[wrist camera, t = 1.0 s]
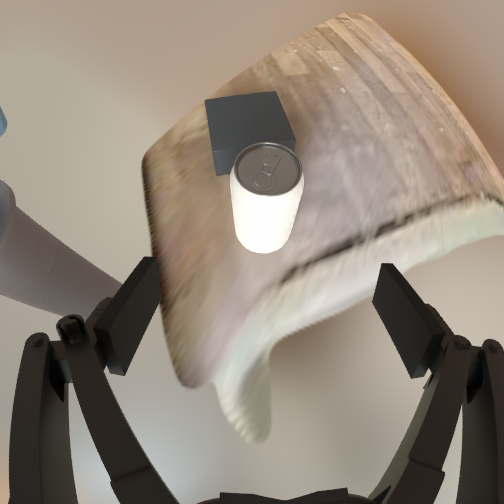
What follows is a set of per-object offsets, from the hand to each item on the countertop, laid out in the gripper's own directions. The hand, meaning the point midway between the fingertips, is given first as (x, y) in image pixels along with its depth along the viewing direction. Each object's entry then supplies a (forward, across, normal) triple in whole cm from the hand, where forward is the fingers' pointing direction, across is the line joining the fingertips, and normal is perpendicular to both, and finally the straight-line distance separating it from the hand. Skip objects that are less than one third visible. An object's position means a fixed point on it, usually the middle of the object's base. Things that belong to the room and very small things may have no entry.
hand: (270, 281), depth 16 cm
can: (+18, 0, -4) cm, 19 cm away
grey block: (+28, -2, +6) cm, 28 cm away
